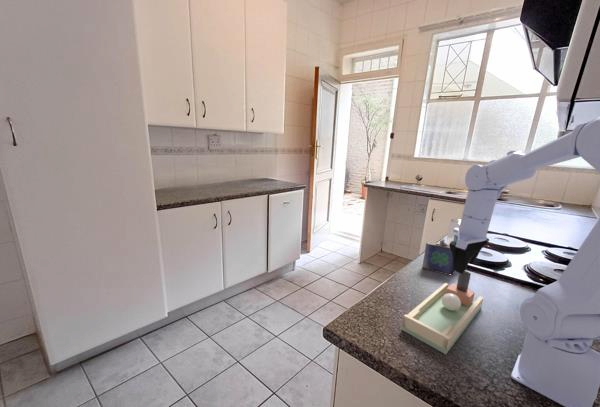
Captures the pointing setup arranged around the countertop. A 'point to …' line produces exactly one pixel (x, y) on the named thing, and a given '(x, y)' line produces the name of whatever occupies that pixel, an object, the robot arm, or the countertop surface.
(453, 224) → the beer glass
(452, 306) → the ball
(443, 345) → the pitch
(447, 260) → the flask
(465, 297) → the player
